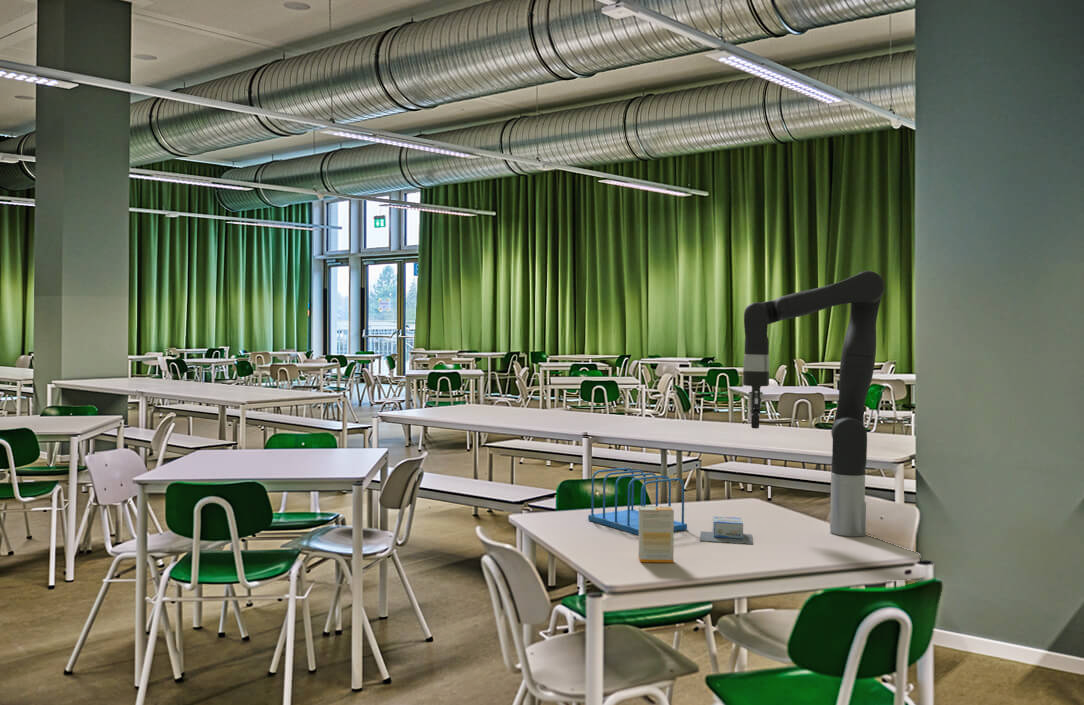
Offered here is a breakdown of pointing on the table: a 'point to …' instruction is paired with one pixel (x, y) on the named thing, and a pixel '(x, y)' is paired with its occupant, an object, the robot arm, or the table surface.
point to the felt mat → (710, 537)
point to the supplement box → (656, 534)
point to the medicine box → (727, 527)
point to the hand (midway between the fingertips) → (755, 428)
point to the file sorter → (630, 518)
